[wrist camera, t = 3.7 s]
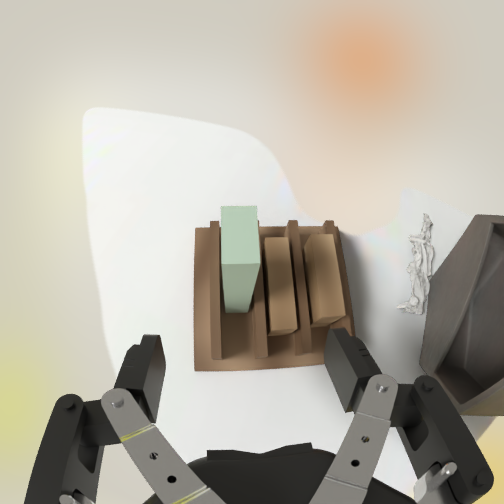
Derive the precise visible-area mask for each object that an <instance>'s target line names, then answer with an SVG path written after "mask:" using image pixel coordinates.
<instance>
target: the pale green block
mask: <svg viewBox="0 0 504 504" xmlns="http://www.w3.org/2000/svg"><path fill="white" fill-rule="evenodd" d="M221 261H222V277H223V289H224V301H225V312H226V313H248V310H249V306H250V302H251V298H252V294H253V290H254V287H255V283H256V279H257V275H258V271H259V267H260V249H259V234H258V220H257V206H221Z"/></svg>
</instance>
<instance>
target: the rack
mask: <svg viewBox="0 0 504 504" xmlns="http://www.w3.org/2000/svg"><path fill="white" fill-rule="evenodd" d="M258 234H259V249H260V267H259V271H258V275H257V279H256V283H255V287H254V290H253V294H252V298H251V302H250V306H249V310H248V313H226V312H225V301H224V289H223V277H222V261H221V227H219V221H210V228H195V254H194V369H195V371H241V370H262V369H277V368H289V367H300V366H310V365H319V364H325V363H324V350H325V345H326V340H327V334H328V330H329V329H331V328H340V327H345V328H346V330H347V331H348V333H349V335H350V336H355V328H354V320H353V312H352V305H351V298H350V292H349V285H348V279H347V273H346V267H345V261H344V256H343V250H342V245H341V240H340V235H339V230H338V227H335V226H334V221H327V220H326V221H325V223H324V224H323V226H298V221H297V220H289V222H288V224H287V226H284V227H259V220H258ZM310 234H333V238H334V244H335V249H336V255H337V261H338V267H339V273H340V279H341V286H342V293H343V300H344V307H345V314H346V315H345V316H343V317H342V318H340V319H338V320H337V321H335V322H333V323H331V324H329V325H328V326H325V327H313V328H310V320H309V310H308V301H307V292H306V283H305V275H304V266H303V258H302V249H303V248H304V246H305V244H306V242H307V240H308V238H309V236H310ZM268 237H288V241H289V250H290V259H291V268H292V278H293V288H294V298H295V308H296V319H297V329H296V330H295V331H293V332H292V333H291V334H289V335H277V336H267V329H266V314H265V299H264V284H263V269H262V255H261V253H262V249H263V245H264V241H265V238H268Z"/></svg>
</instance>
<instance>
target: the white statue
mask: <svg viewBox="0 0 504 504" xmlns="http://www.w3.org/2000/svg"><path fill="white" fill-rule="evenodd" d="M424 221H425V222H423V224H424V225H423V227H422V231H421V234H420V235H409V236H410V237H408V238H409V240H410V242H412V243H413V245H415V247H413V248H412V253H413V255H414V256H415V258H414V262H411V263H410V264H409V266H408V267H407V269H406V270H407V272H408V273H410V274H411V275H410V279H411V282H412V292H411V294H412V296H411V298H410V300H409V301H406V302H404V303H402V304H399V305H397V308H403V309H404V311H403V312H410V313H413V312H416V314H419V315H420V314H422V311H423V310H422V308H423V301H424V302H425V301H426V300H427V299H426V297H427V294H429V288H430V283H429V279H428V277H427V276H430V275H431V261H432V257H433V253H434V251H433V246H432V245H431V244H430V243H429V238H430V230H429V227H430V224H432V225H433V223H432V222H431V220H430V219H429V218H428V215H427V214H425V216H424ZM428 236H429V238H428ZM415 251H416V253H415ZM413 314H414V313H413Z"/></svg>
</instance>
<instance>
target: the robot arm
mask: <svg viewBox="0 0 504 504" xmlns="http://www.w3.org/2000/svg"><path fill="white" fill-rule="evenodd" d="M324 363H325V366H326V368H327V370H328V373H329V375H330V377H331V380H332V382H333V384H334V387H335V389H336V392H337V394H338V396H339V399H340V401H341V404H342V406H343V408H344V411H345V413H347V412H352V411H354V414H355V416H354V419H353V421H352V423H351V425H350V428H349V430H348V432H347V434H346V436H345V438H344V440H343V442H342V445H341V447H340V449H339V451H338V453H337V455H336V454H334V453H331V452H328V451H325V450H320V449H313V448H312V444H311V442H310V443H303V444H296V445H288V446H284V447H281V448H278V449H275V450H272V451H269V452H265V453H262V454H257V453H250V452H243V451H237V450H207V457H203V458H200V459H197V460H194V461H192V462H190V463H188V464H186V463H185V462H184V461H183V460H182V458H181V457H180V456H179V455H178V454H177V452H176V451H175V450H174V449H173V448H172V446H171V445H170V444H169V443H168V441H167V440H166V439H165V438H164V436H163V435H162V434H161V432H160V431H159V430H158V428H157V427H156V426H155V425H154V424H153V425H152V424H151V423H156V419H157V413H158V407H159V402H160V396H161V391H162V386H163V381H164V376H165V370H166V362H165V356H164V352H163V347H162V342H161V338H160V335H143V338H142V340H141V343H140V345H133V346H132V347H131V348H130V349H129V350H128V351H127V353H126V355H125V358H124V361H123V363H122V367H121V369H120V371H119V374H118V377H117V380H116V383H115V386H114V388H113V389H111V390H109V391H108V392H106V393H105V394H104V395H103V396H102V399H100V400H95V401H88V402H83V401H82V399H81V398H80V397H79V396H78V395H75V394H66V395H64V396H62V397H60V398H59V399H58V400H57V402H56V404H55V406H54V409H53V412H52V414H51V416H50V419H49V422H48V424H47V427H46V430H45V433H44V436H43V438H42V441H41V445H40V447H39V451H38V454H37V457H36V460H35V463H34V467H33V470H32V474H31V477H30V481H29V485H28V489H27V493H26V497H25V501H24V504H95V503H96V495H97V488H98V481H99V475H100V468H101V463H102V457H103V451H104V446H105V445H111V444H119V443H122V444H123V445H124V447H125V449H126V450H127V452H128V453H129V455H130V457H131V458H132V460H133V461H134V463H135V465H136V466H137V467H138V469H139V471H140V472H141V473H142V475H143V476H144V478H145V479H146V481H147V482H148V483H149V485H150V486H151V488H152V489H153V490H154V492H155V494H153V495H152V496H151V497H150V498H149V499H148V500H147V501H145V502H144V503H143V504H472V503H474V502H475V501H476V500H478V499H479V498H481V497H482V496H483V495H485V494H486V493H487V492H488V491H489V490H490V489H491V488H492V486H493V482H494V476H493V473H492V471H491V469H490V467H489V465H488V464H487V462H486V460H485V458H484V456H483V454H482V452H481V450H480V449H479V447H478V445H477V443H476V442H475V440H474V438H473V436H472V435H471V433H470V431H469V429H468V428H467V426H466V424H465V423H464V421H463V419H462V418H461V416H460V415H459V413H458V411H457V410H456V408H455V406H454V405H453V403H452V402H451V400H450V399H449V397H448V395H447V394H446V392H445V391H444V389H443V388H442V386H441V385H440V383H439V382H438V381H437V380H436V379H435V378H433V377H431V376H420V377H418V378H417V379H416V380H415V382H414V384H397V382H396V381H395V380H394V379H393V378H392V377H390V376H388V375H384V374H382V372H381V371H380V369H379V367H378V366H377V364H376V363H375V361H374V359H373V358H372V356H370V353H369V351H368V350H367V348H366V346H365V345H364V343H363V342H362V341H361V340H360V339H358V338H357V337H356V336H350V335H349V333H348V331H347V330H346V328H345V327H340V328H331V329H329V330H328V334H327V340H326V345H325V350H324ZM389 427H396V429H397V431H398V433H399V436H400V438H401V440H402V442H403V445H404V447H405V450H406V452H407V454H408V457H409V459H410V461H411V464H412V466H413V469H414V471H415V474H416V476H417V479H418V481H417V482H416V483H415V486H414V500H413V499H412V498H411V497H409V496H407V495H405V494H403V493H401V492H399V491H397V490H395V489H394V488H392V487H390V486H388V485H386V484H384V483H383V482H381V481H379V480H377V479H376V478H374V477H372V476H373V473H374V470H375V468H376V465H377V463H378V460H379V457H380V454H381V452H382V449H383V446H384V443H385V440H386V437H387V434H388V431H389Z"/></svg>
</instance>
